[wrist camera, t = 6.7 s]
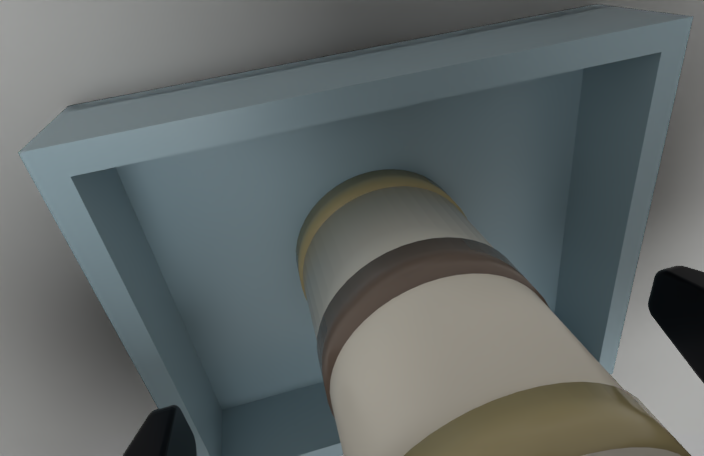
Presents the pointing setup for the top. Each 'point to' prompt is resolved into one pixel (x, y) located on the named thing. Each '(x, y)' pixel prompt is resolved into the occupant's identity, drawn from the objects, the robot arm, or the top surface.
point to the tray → (340, 165)
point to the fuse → (448, 337)
